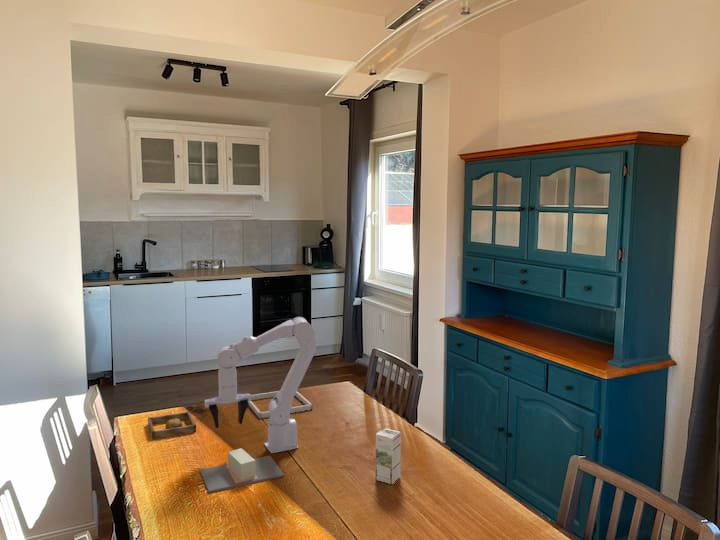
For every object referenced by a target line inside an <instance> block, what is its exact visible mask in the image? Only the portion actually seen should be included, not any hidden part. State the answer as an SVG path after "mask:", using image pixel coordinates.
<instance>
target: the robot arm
mask: <svg viewBox="0 0 720 540" xmlns="http://www.w3.org/2000/svg"><path fill="white" fill-rule="evenodd" d="M293 336H294V337H293ZM282 338H287V339H290V340H292V339H294V338H295V339H296V341H297V342H298V345H299V349H298V352H297V354H296V357H295V358H294V360H293V362H292V365H291V366H290V369H289V370H288V373H287V375H286V377H285V379H284V382H283V384H281V388H280V390H278V391H279V392H277V393H276V395H275V397H272V398H271V400H270V401H269V402H268V404H267V411H269V413H270V417H268V419H267V442H264V446H265V448H266V449H267V450H268V452H270V454H275V453H280V452H285V451H290V450H296V449H299V446H298V444H299V443H298V440H299V439H298V433H299V431H298V424H297V422H296V420H295V418H291V413H290V410H291V407H293V401H294V397H295V393H296V391H297V392H298V389H299V386H300V385H301V382H302V381H303V380H304V377H305V374H306V372H307V370H308V369H309V367H310V364H311V362H312V360H313V357H314V356H315V354H316V352H317V345H316V332H315V330H314V327H313V326H312V325H311V324H310V323H309V322H308V320H307V319H306V318H305V317H302V316H296V317H294V318H293V319H288V320H285V321H284V322H282V323H281V324H278V325H277V326H274V327H273V328H271V329H269V330H267V331H265V332H263V333H262V334H260V335H258V336H252V335H250V336H247V335H245V336H243V337H242V339H241V340H238V341H237V342H234V343H229V344H228V345H226V346H223V347H221V348H220V349H219V351H218V352H217V361H218V372H217V373H218V374H217V375H218V396H216V397H212V398H208V399H204V407H205V408H208V409H209V412H210V413H211V415H212V418H213V423H214V427H215V429H218V428H219V409H218V406H222V405H227V404H235V403H237V408H238V410H237V411H238V412H237V413H238V414H237V415H238V417H237V418H238V423H239V425H242V424H243V421H244V416H245V413H246V411H247V409H248V408H249V405H248V404H249V403H248V401H252V400H251V395H252V394H250V393H238V378H237V375H238V373H237V369H236V368H237V367H236V366H237V365H236V364H237V363H238V361H242V360H244V359H246V358H247V357H250V356H252V355H255V354H256V353H258V352H259V351H260V348H261V347H263V346H265V345H267V344H270V343H273V342H274V341H277V340H279V339H282Z"/></svg>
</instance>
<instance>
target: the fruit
mask: <svg viewBox="0 0 720 540" xmlns="http://www.w3.org/2000/svg"><path fill="white" fill-rule="evenodd" d="M183 426H184V425H183V421H182V420H180V419H178V418H175V419H171V420H169V421H168V422H165V429H171V428H177V427H183Z"/></svg>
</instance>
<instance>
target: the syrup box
mask: <svg viewBox="0 0 720 540" xmlns="http://www.w3.org/2000/svg"><path fill="white" fill-rule="evenodd" d="M401 433H402V431H399V430H398V431H397V430H394V429H389V428H386V427H384V428H382V429H380V430H378V432H376V434H375V477H374V478H375V481H376V480H378V481H377V482H379V481H381V482H380V483H383V482H385V483H384V484H386V483H388V484H387V485H390V484H393V483H394V482H395V481H396V480H397V479H398V478H399V477H400V478H401V447H402V446H401V445H402V444H401V443H402V439H401V437H402V435H401ZM400 478H399V479H400ZM399 479H398V480H399ZM398 480H397V481H398ZM397 481H396V482H397ZM396 482H395V483H396ZM395 483H394V484H395ZM394 484H393V485H394Z"/></svg>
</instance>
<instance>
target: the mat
mask: <svg viewBox="0 0 720 540" xmlns="http://www.w3.org/2000/svg"><path fill="white" fill-rule="evenodd" d="M253 459H254V460H255V473H256V476H255V477H252V478H249V479H246V480H242V481H241V480H240V479H239V478H238V477H237V476H236V475H235V474H234V473H233V472H232V471H231V470H230V469H229V468H228V463H226V464H222V465H221V464H220V465H216V466H212V467H205V468H200V469H199V472H200V475H201V478H202V480H203V482H204V485H205V487H206V489H207V491H208V493H209V494H211V493H215V492H219V491H224V490H229V489H233V488H238V487H242V486H247V485H252V484H256V483H260V482H265V481H270V480H274V479H278V478H282V477H283V478H284V477H285V473H284V472H283V471H282V469H281V468H280V467H279V466H278V464H277V463H276V462H275V460H274V458H272V456H271V455H267V456H261V457H257V458H253Z"/></svg>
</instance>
